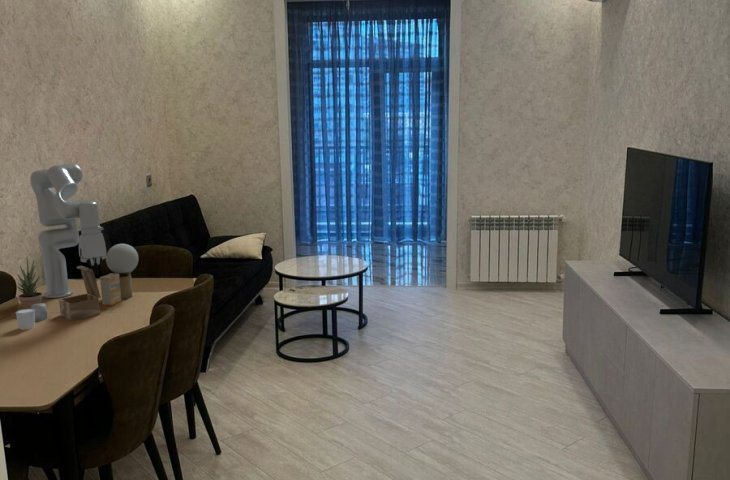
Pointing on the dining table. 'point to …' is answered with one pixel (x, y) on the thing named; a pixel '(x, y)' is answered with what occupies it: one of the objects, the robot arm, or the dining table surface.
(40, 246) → the robot arm
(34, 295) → the potted plant
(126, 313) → the dining table surface
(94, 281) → the lid
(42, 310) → the tape roll
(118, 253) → the lamp
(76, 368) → the dining table surface
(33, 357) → the dining table surface
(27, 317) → the white cylinder
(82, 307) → the box
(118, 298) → the supplement box
